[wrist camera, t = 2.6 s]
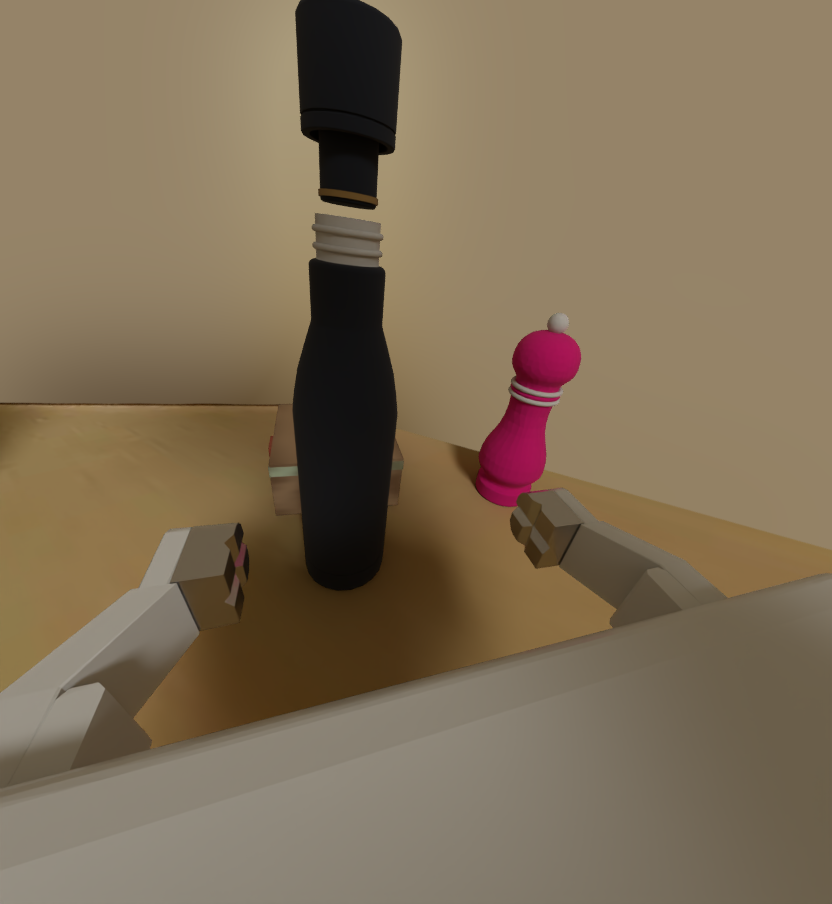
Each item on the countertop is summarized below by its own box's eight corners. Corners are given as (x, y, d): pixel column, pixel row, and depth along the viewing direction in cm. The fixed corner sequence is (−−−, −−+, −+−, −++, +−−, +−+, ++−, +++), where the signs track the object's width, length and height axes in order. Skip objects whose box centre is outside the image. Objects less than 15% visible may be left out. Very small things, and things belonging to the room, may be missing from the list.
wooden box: (269, 516, 31) (260, 465, 28) (278, 445, 41) (273, 401, 38) (398, 504, 35) (403, 458, 31) (378, 442, 45) (381, 402, 41)
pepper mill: (459, 479, 40) (503, 303, 29) (501, 466, 43) (554, 305, 33) (500, 518, 35) (571, 323, 24) (543, 500, 39) (623, 323, 28)
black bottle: (308, 598, 25) (245, -76, 9) (304, 535, 30) (260, 34, 13) (390, 582, 27) (464, 14, 11) (373, 525, 32) (407, 80, 16)
